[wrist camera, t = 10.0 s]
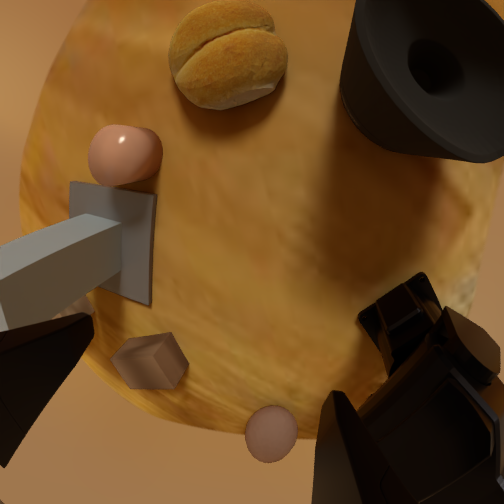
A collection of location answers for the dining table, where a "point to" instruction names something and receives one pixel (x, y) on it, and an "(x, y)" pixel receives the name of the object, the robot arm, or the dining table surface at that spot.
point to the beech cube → (77, 308)
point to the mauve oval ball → (271, 433)
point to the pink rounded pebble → (124, 155)
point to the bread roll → (227, 54)
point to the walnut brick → (150, 362)
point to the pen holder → (427, 77)
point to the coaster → (123, 233)
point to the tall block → (56, 268)
